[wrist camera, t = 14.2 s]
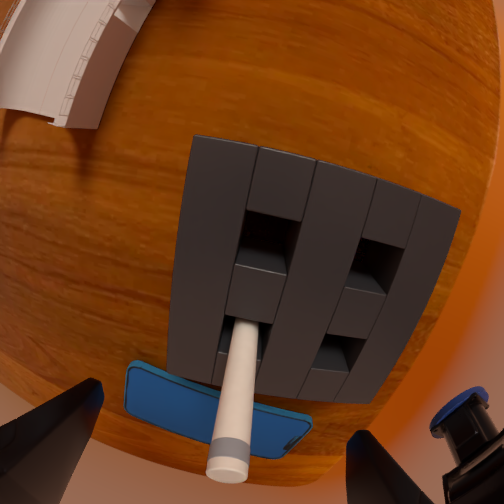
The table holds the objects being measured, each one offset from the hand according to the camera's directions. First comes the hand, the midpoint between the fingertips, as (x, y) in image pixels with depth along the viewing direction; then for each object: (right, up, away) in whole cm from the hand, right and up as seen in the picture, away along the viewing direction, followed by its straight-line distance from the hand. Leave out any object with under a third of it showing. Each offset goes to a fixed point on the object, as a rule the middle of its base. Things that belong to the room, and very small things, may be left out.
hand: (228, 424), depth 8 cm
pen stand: (+3, +5, +8) cm, 10 cm away
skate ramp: (-9, +21, +3) cm, 23 cm away
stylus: (+1, +3, +9) cm, 9 cm away
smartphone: (-2, -8, +13) cm, 15 cm away
